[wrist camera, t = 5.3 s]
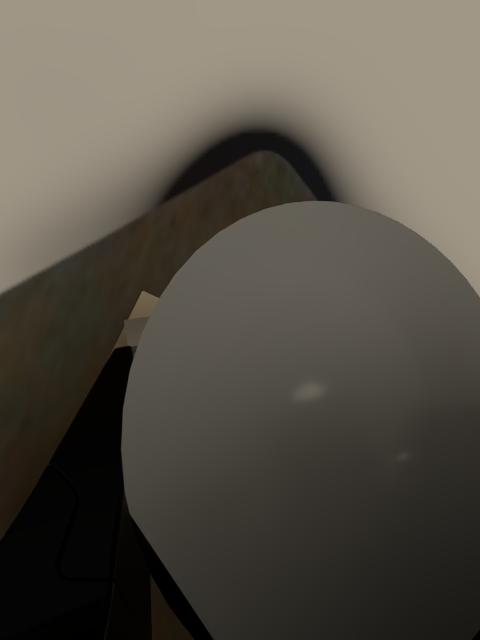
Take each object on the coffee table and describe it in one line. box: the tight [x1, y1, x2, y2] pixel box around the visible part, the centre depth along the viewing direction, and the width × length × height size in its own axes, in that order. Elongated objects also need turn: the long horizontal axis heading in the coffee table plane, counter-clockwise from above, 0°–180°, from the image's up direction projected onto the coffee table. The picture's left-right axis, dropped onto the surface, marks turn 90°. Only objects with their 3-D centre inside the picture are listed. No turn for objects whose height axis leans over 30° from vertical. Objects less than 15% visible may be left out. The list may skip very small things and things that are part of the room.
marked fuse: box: [121, 201, 480, 640], centre depth 8 cm, size 4×4×12 cm
